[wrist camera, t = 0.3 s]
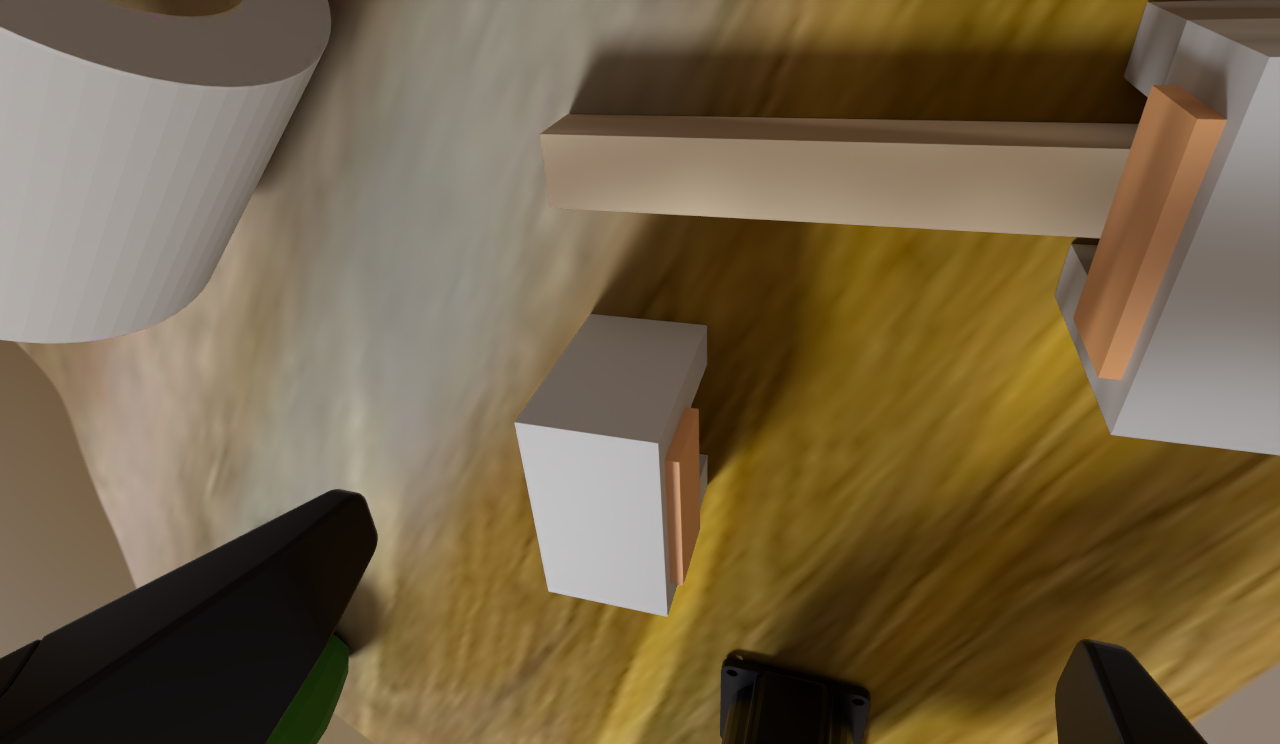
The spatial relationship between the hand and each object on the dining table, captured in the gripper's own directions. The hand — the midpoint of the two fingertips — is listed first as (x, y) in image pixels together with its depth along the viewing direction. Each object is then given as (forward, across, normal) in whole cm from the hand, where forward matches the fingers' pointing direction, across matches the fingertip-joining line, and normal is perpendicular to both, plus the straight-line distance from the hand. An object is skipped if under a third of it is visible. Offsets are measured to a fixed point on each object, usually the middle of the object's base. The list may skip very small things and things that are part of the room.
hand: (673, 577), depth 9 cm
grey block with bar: (+13, -3, -2) cm, 14 cm away
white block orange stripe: (+14, +4, +8) cm, 16 cm away
